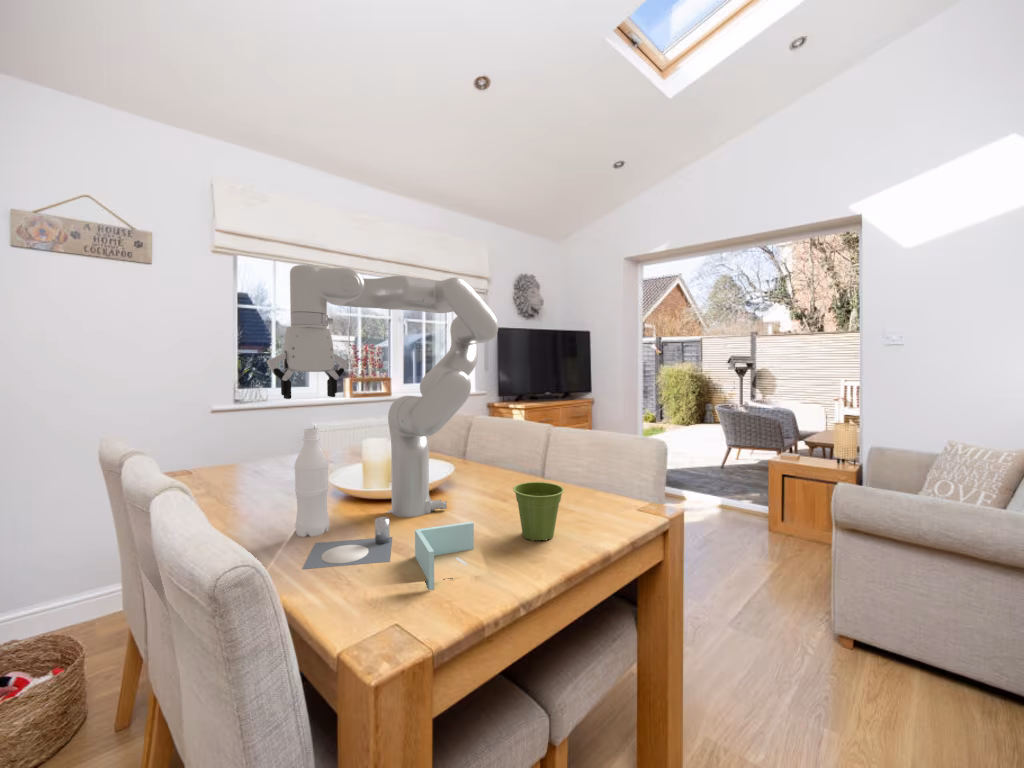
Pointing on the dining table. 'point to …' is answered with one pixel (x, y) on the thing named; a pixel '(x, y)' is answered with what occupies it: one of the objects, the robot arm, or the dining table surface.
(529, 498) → the plant pot
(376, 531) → the metal post
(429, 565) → the right angle wall
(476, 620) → the dining table surface
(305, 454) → the water bottle
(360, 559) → the board
